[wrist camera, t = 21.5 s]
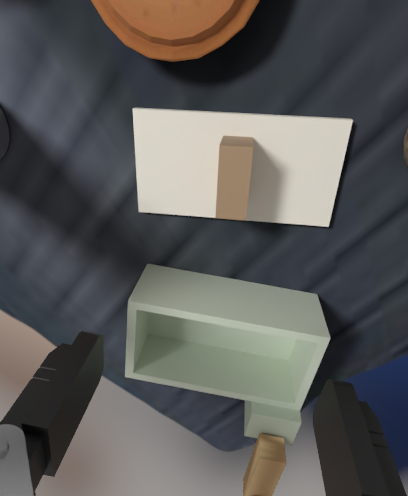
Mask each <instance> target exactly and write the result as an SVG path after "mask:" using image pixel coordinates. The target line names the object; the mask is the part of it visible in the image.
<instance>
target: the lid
mask: <svg viewBox="0 0 408 496" xmlns="http://www.w3.org/2000/svg"><path fill="white" fill-rule="evenodd" d="M133 123H134V140H135V157H136V173H137V190H138V207H139V212H146V213H159V214H171V215H184V216H197V217H210V218H219V219H232V220H245V221H246V220H248V221H260V222H273V223H286V224H299V225H311V226H324V227H329V223H330V219H331V214H332V210H333V206H334V201H335V197H336V192H337V188H338V184H339V179H340V175H341V171H342V166H343V162H344V157H345V153H346V149H347V144H348V140H349V136H350V131H351V127H352V123H353V120H352V119H346V118H326V117H307V116H287V115H268V114H249V113H229V112H210V111H190V110H171V109H151V108H133Z"/></svg>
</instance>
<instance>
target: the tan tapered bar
mask: <svg viewBox="0 0 408 496" xmlns="http://www.w3.org/2000/svg"><path fill="white" fill-rule="evenodd" d="M285 465H286V457H285V446H284V438H280V437H275V436H270V435H265V434H260V433H259V436H258V439H257V441H256V444H255V447H254V450H253V453H252V456H251V458H250V461H249V464H248V467H247V470H246V473H245V476H244V484H243V486H244V487H243V496H272V494H273V492H274V490H275V488H276V485H277V483H278V481H279V478H280V476H281V474H282V472H283V469H284V467H285Z"/></svg>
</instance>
